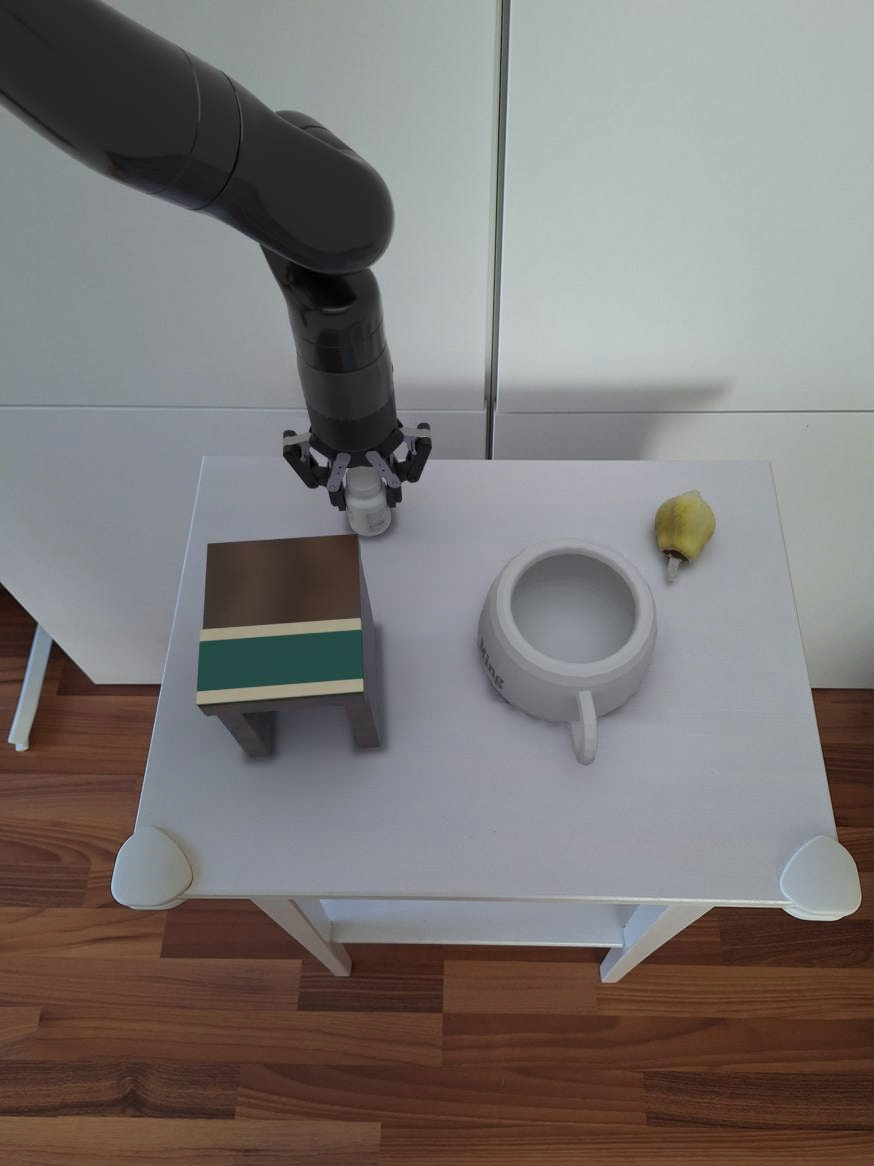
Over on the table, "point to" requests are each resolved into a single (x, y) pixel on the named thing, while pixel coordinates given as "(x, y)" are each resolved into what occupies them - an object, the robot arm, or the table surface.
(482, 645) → the mug
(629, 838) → the table surface
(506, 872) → the table surface
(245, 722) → the stool
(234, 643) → the towel
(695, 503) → the fruit
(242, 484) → the table surface
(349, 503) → the pill bottle
